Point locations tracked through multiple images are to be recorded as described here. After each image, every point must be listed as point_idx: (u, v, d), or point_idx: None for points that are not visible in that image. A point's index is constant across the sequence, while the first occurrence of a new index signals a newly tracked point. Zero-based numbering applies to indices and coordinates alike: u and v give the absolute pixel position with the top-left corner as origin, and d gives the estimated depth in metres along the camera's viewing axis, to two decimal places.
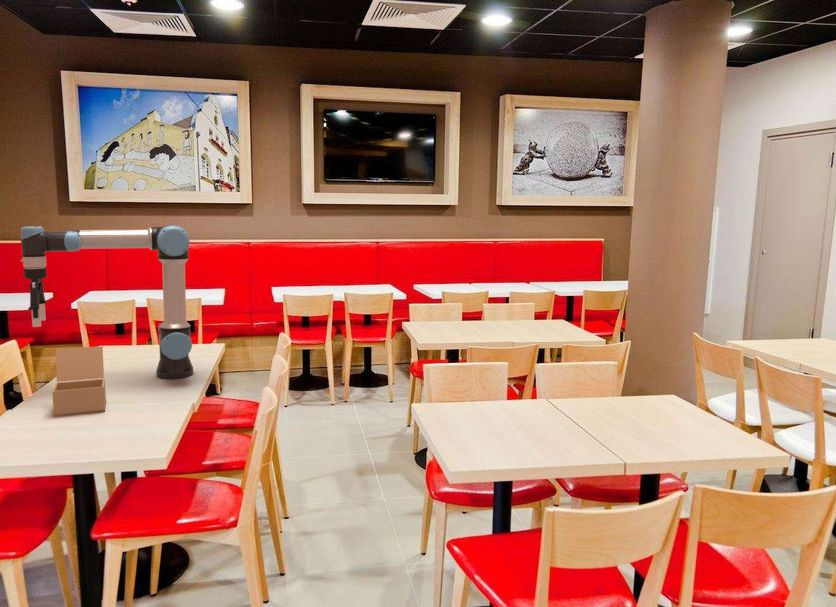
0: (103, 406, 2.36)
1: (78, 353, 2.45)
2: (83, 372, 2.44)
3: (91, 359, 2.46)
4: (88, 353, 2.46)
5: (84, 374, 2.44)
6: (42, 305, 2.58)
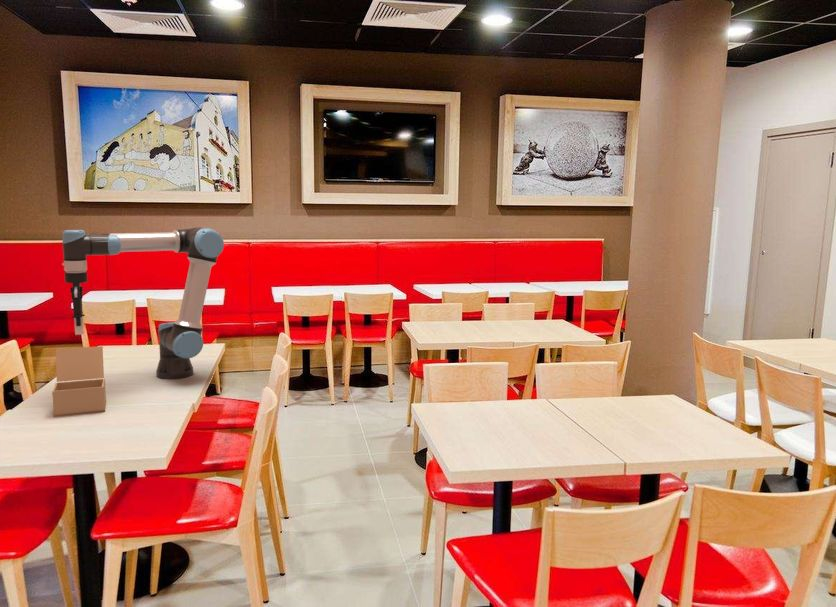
0: (103, 406, 2.36)
1: (78, 353, 2.45)
2: (83, 372, 2.44)
3: (91, 359, 2.46)
4: (88, 353, 2.46)
5: (84, 374, 2.44)
6: None
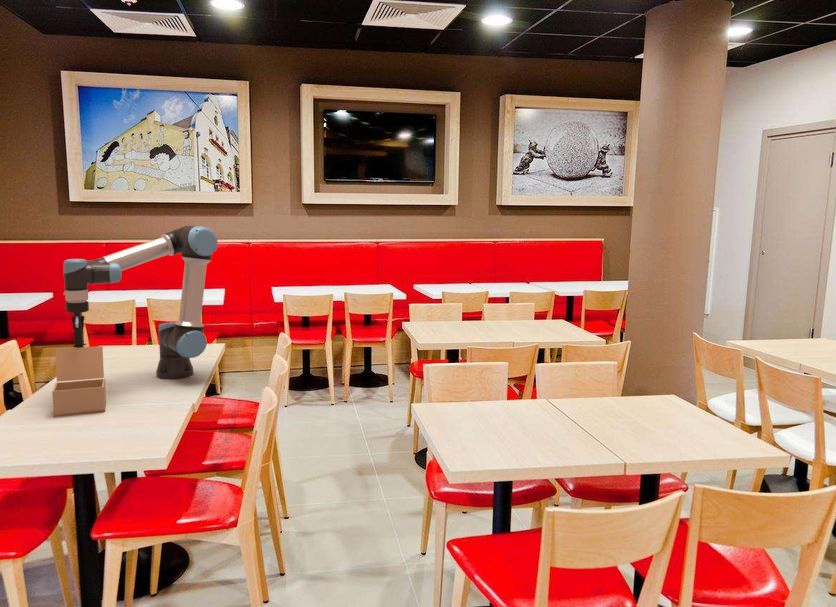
0: (103, 406, 2.36)
1: (78, 353, 2.44)
2: (83, 372, 2.44)
3: (91, 359, 2.46)
4: (88, 353, 2.46)
5: (84, 374, 2.44)
6: None
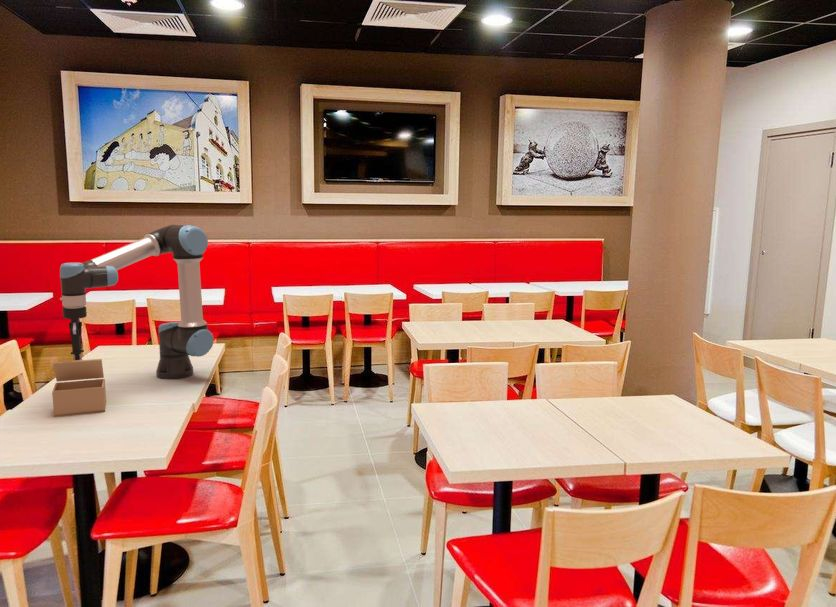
0: (103, 406, 2.36)
1: (76, 365, 2.36)
2: (83, 375, 2.41)
3: (90, 367, 2.39)
4: (87, 364, 2.37)
5: (84, 376, 2.42)
6: None
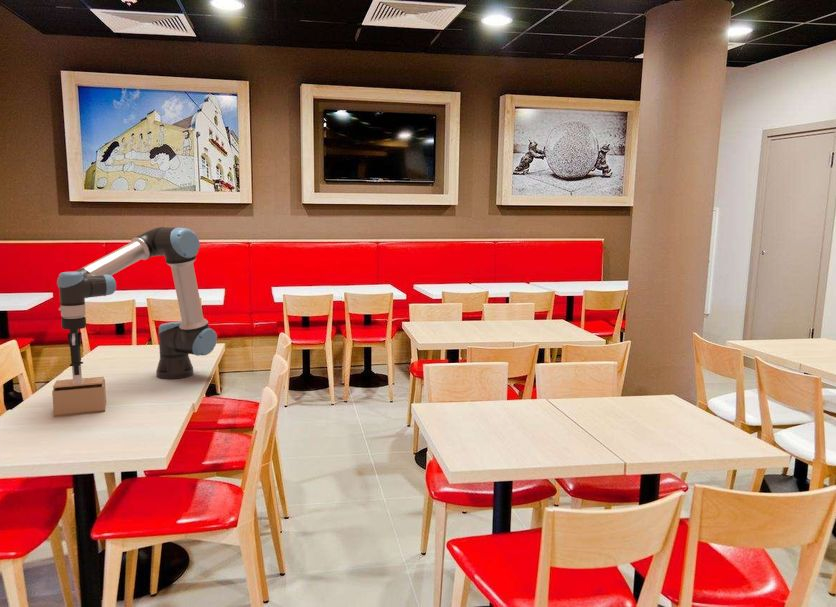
0: (103, 406, 2.36)
1: None
2: None
3: None
4: None
5: None
6: None
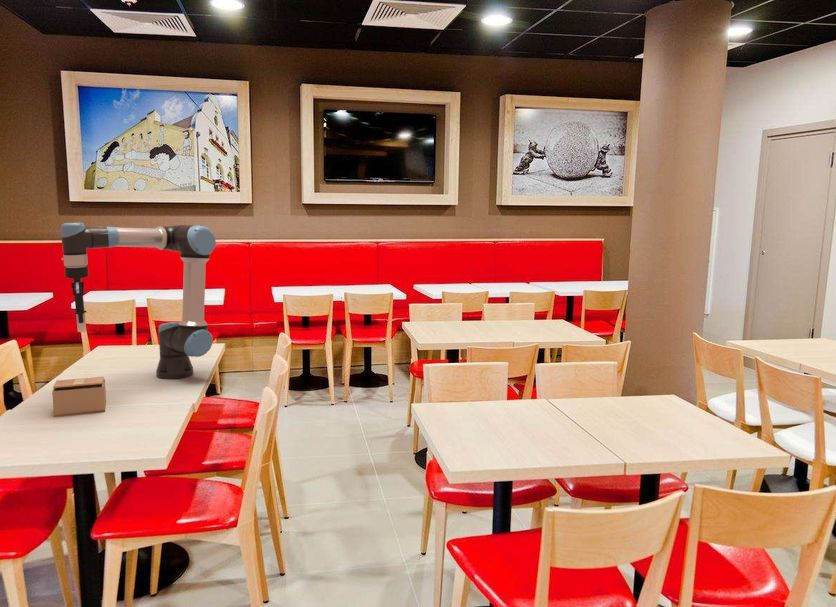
0: (103, 406, 2.36)
1: None
2: None
3: None
4: None
5: None
6: None
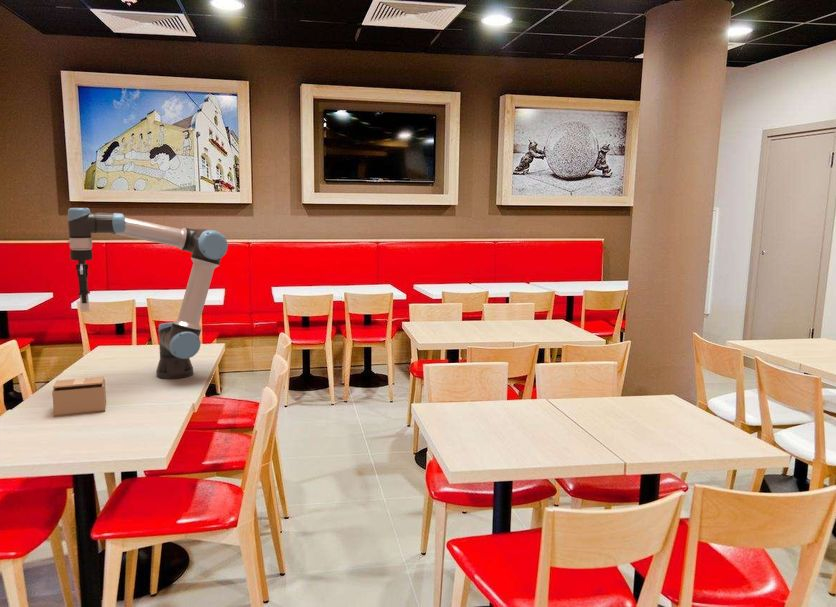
0: (103, 406, 2.36)
1: None
2: None
3: None
4: None
5: None
6: None
